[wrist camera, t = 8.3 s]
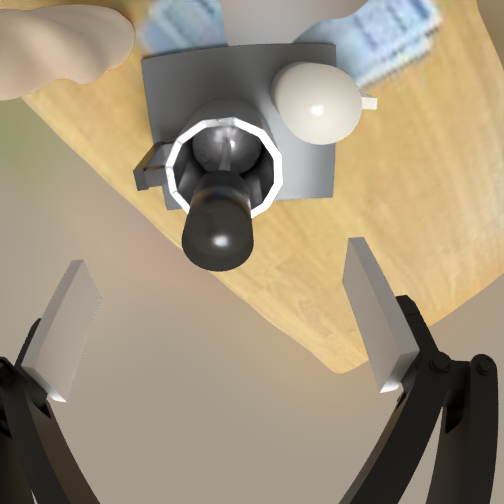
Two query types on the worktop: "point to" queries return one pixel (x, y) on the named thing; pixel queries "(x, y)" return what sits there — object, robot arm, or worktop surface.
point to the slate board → (247, 89)
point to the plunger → (221, 199)
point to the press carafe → (190, 171)
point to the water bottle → (60, 46)
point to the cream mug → (318, 101)
